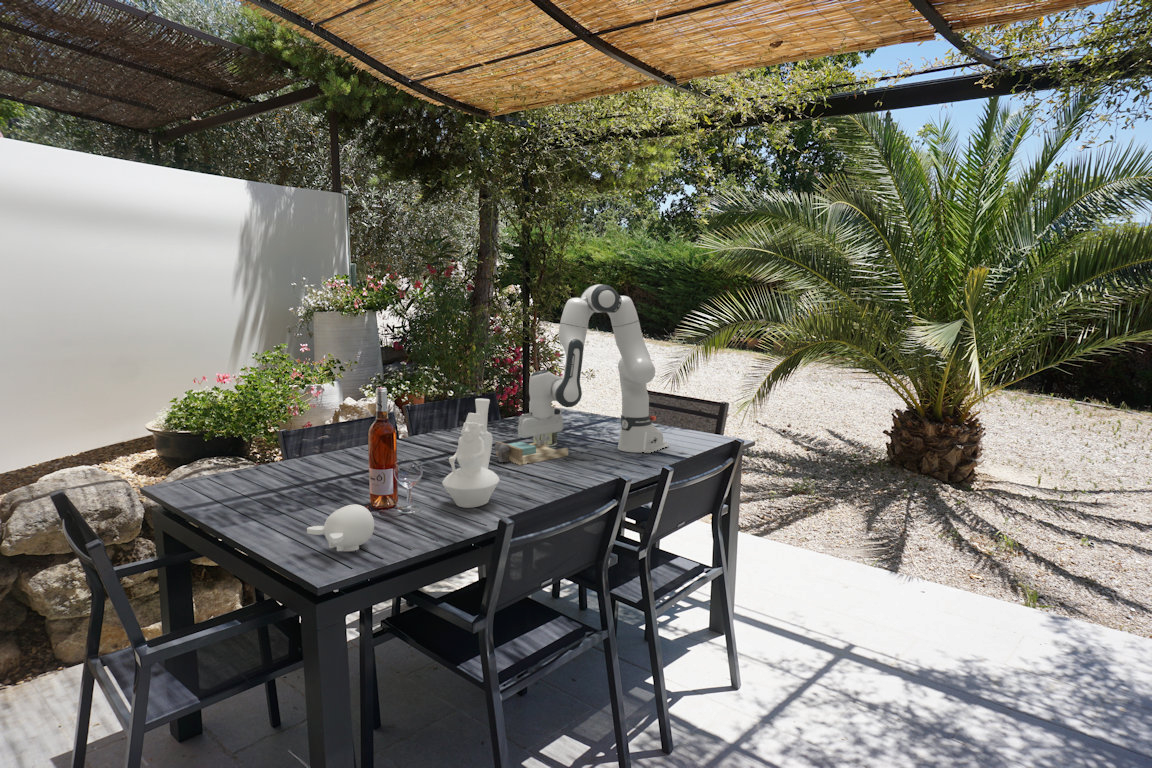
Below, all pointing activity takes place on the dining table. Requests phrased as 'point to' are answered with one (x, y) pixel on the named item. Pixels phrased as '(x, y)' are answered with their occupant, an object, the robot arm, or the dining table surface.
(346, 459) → the dining table surface
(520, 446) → the teal rectangular box
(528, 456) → the bay
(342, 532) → the piggy bank
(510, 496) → the dining table surface
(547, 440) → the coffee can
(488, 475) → the white sculpted vase
